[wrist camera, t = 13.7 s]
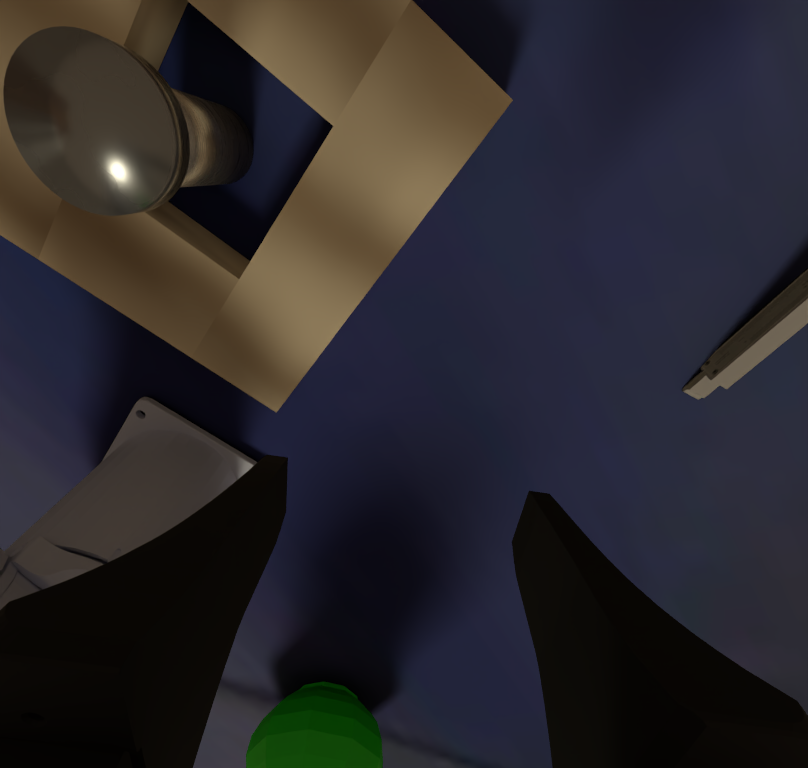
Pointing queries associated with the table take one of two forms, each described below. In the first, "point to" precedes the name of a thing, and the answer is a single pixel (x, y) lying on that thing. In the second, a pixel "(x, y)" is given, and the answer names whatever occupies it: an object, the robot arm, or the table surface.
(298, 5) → the square wooden frame
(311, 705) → the plastic bottle
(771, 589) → the table surface
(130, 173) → the steel pin
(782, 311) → the caliper
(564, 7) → the table surface
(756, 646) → the table surface
